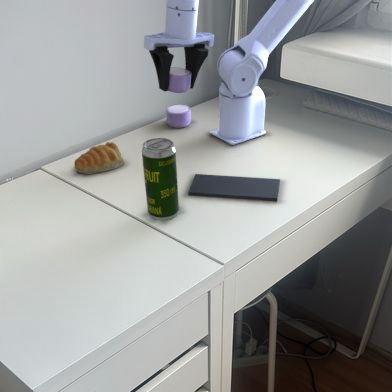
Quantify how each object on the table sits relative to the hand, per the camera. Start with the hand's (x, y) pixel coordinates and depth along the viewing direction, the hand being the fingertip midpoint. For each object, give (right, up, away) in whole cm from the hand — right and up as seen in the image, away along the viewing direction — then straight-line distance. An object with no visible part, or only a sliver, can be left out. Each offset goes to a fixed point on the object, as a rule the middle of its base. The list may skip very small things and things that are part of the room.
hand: (176, 88), depth 100 cm
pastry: (-15, -16, 0) cm, 22 cm away
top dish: (0, 0, 0) cm, 0 cm away
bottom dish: (0, -1, +14) cm, 14 cm away
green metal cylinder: (-2, -29, -13) cm, 31 cm away
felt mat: (+11, -22, -8) cm, 26 cm away
